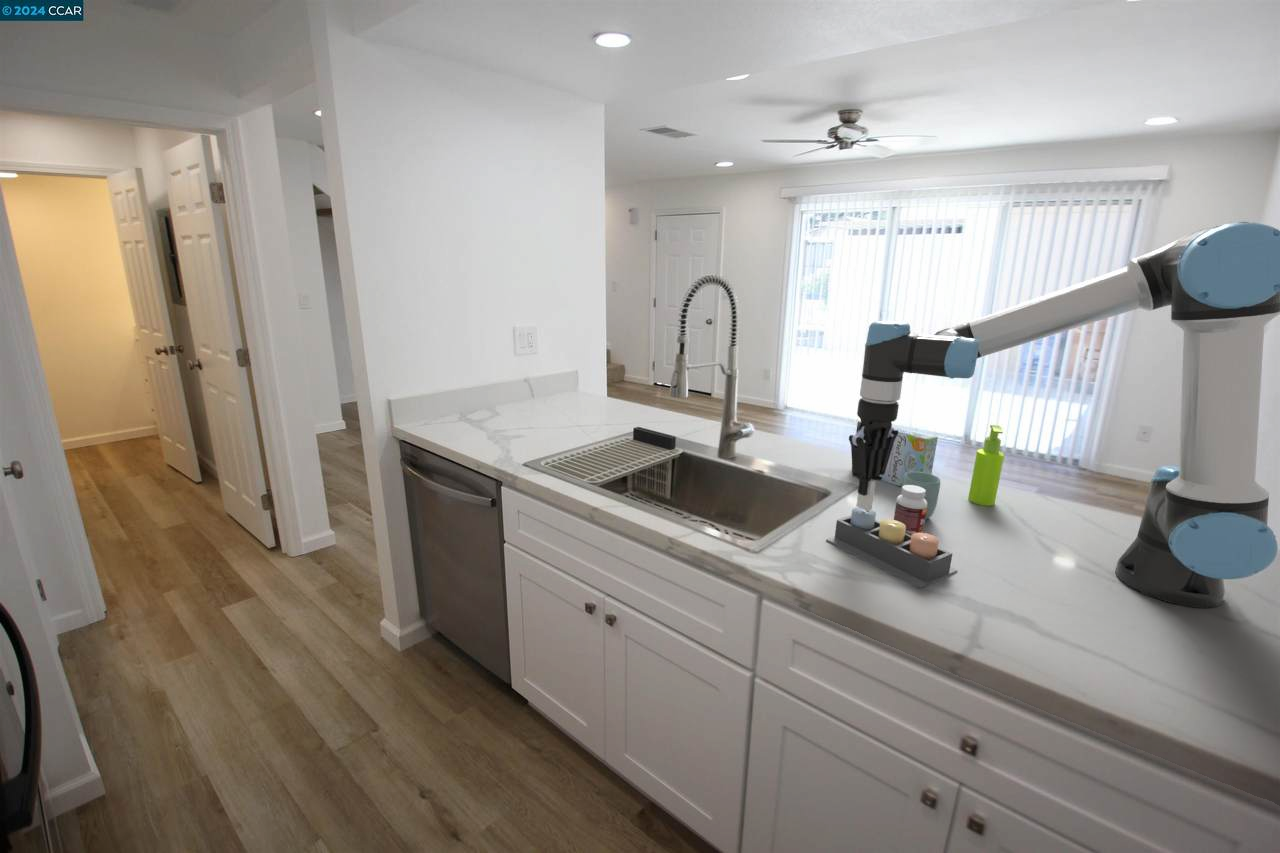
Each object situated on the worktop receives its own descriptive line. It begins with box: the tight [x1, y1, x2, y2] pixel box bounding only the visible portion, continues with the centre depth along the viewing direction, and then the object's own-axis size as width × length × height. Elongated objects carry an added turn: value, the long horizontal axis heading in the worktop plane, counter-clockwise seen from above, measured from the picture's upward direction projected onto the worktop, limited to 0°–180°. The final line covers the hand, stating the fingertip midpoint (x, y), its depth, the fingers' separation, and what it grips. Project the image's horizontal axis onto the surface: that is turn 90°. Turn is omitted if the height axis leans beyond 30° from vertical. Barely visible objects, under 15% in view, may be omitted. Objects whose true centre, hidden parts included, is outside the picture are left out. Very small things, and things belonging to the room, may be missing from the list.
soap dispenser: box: [967, 424, 1005, 507], centre depth 144 cm, size 6×7×20 cm
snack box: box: [855, 420, 939, 488], centre depth 159 cm, size 21×6×15 cm, turn 34°
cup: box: [900, 472, 941, 520], centre depth 136 cm, size 8×8×10 cm
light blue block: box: [850, 506, 877, 531], centre depth 123 cm, size 5×5×5 cm
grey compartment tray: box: [825, 515, 958, 589], centre depth 118 cm, size 22×12×4 cm, turn 32°
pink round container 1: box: [909, 532, 940, 560], centre depth 111 cm, size 5×5×5 cm
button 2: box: [878, 518, 906, 545], centre depth 117 cm, size 5×5×5 cm
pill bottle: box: [893, 485, 927, 535], centre depth 126 cm, size 6×6×11 cm
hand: (864, 507), depth 122 cm, fingers closed
